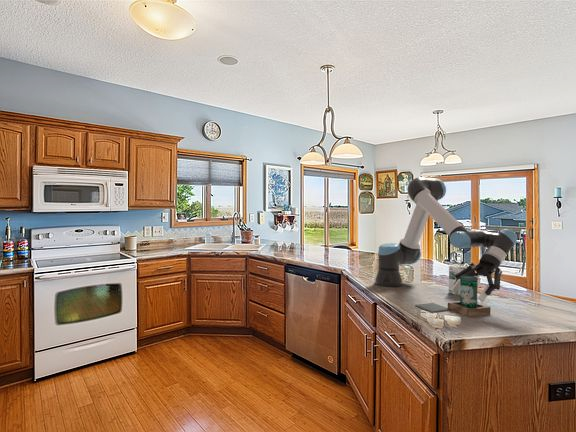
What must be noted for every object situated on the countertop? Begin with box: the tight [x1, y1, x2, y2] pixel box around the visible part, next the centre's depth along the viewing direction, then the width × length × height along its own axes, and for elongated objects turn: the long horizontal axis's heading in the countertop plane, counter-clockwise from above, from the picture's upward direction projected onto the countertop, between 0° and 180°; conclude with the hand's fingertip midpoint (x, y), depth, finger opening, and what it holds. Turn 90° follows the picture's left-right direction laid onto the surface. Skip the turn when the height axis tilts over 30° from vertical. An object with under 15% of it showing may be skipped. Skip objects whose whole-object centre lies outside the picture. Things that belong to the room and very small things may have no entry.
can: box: [459, 275, 479, 308], centre depth 140 cm, size 6×6×15 cm
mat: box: [414, 302, 451, 314], centre depth 145 cm, size 10×10×1 cm
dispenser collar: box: [447, 300, 491, 318], centre depth 140 cm, size 11×11×3 cm
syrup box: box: [448, 264, 467, 296], centre depth 170 cm, size 6×6×14 cm
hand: (466, 295), depth 139 cm, fingers open, 13 cm apart
